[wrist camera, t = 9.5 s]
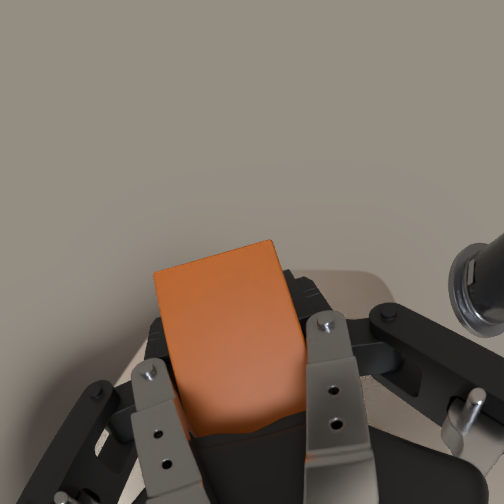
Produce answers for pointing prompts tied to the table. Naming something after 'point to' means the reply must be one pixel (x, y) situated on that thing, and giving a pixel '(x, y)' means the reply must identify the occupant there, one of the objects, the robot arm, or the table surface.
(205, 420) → the orange lidded gift box
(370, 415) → the table surface
